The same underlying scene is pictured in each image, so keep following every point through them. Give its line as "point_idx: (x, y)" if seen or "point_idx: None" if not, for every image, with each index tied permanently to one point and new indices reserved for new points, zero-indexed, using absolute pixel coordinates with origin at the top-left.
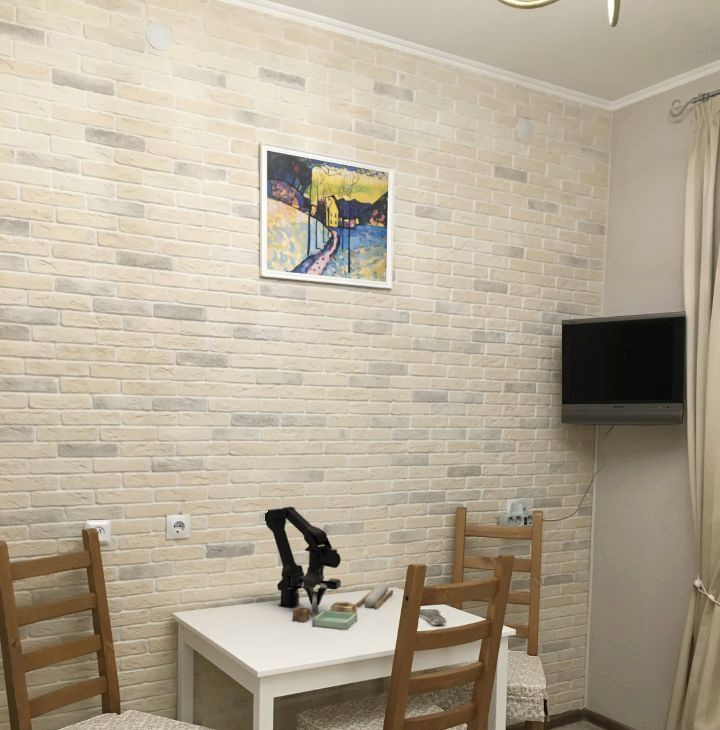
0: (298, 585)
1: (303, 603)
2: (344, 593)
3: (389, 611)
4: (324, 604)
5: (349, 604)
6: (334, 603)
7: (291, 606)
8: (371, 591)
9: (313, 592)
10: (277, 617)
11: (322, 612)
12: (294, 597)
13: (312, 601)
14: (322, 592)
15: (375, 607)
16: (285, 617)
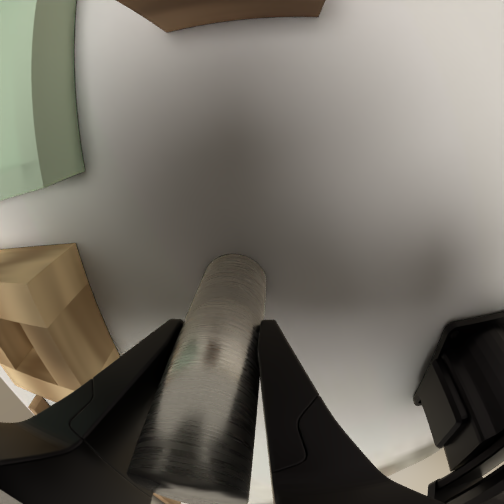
0: (464, 495)
1: (390, 415)
2: (256, 501)
3: (5, 377)
4: (264, 437)
5: (20, 368)
6: (70, 370)
7: (464, 323)
8: (165, 501)
9: (194, 468)
10: (475, 4)
11: (25, 102)
12: (470, 395)
13: (240, 340)
14: (22, 426)
15: (35, 401)
16: (427, 7)
